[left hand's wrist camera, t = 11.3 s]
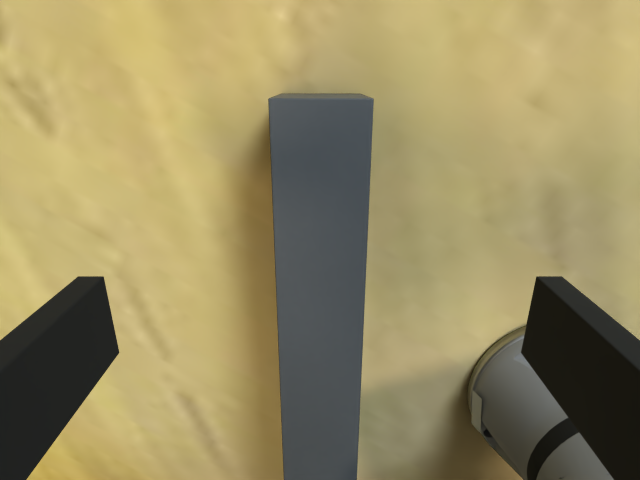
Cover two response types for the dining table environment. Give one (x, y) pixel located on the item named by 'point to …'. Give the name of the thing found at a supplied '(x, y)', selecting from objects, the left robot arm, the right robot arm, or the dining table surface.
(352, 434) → the beam
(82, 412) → the dining table surface
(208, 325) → the dining table surface
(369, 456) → the dining table surface
